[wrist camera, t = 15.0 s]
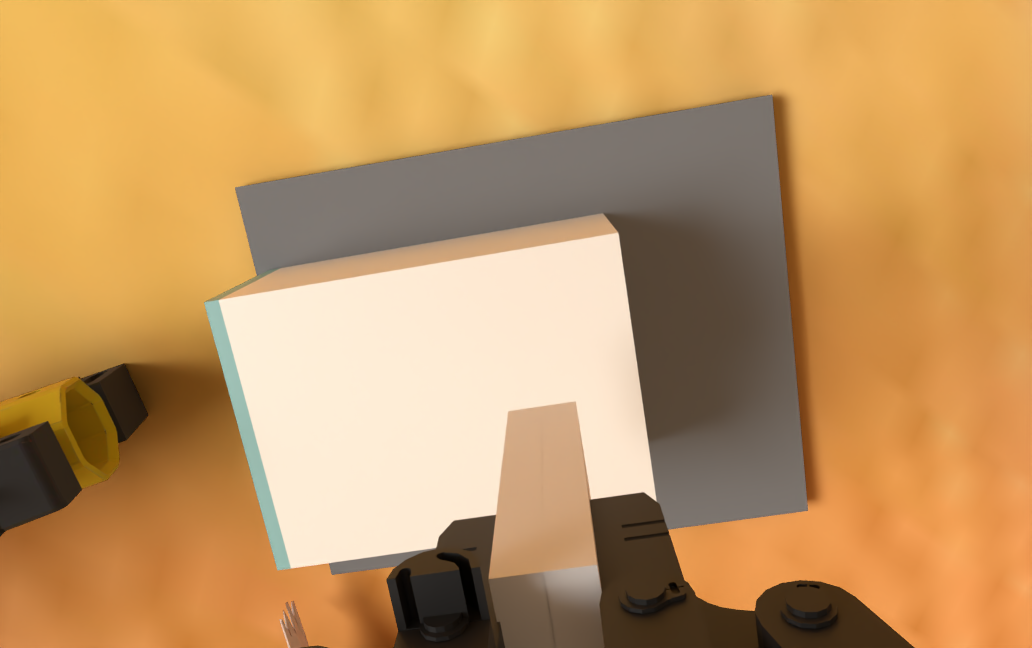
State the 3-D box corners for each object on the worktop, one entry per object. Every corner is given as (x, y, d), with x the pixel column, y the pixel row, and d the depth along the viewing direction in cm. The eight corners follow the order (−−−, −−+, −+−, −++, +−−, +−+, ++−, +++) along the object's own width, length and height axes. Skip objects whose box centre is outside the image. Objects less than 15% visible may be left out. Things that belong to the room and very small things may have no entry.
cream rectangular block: (602, 213, 24) (269, 270, 25) (618, 232, 19) (203, 302, 20) (636, 445, 26) (324, 491, 27) (658, 516, 21) (277, 570, 22)
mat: (242, 186, 25) (234, 187, 24) (766, 95, 24) (772, 94, 23) (336, 565, 28) (331, 574, 28) (802, 502, 27) (807, 510, 27)
